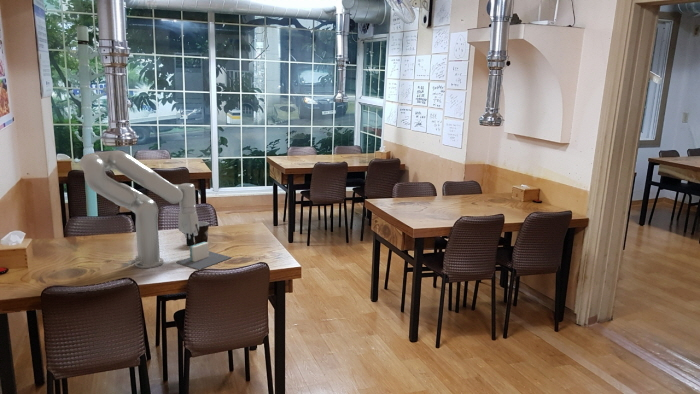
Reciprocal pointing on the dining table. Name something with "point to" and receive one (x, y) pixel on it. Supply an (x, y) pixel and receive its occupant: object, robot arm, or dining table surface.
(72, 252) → the dining table surface
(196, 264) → the mat
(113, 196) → the robot arm
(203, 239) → the coffee mug
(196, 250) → the card deck
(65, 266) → the dining table surface
